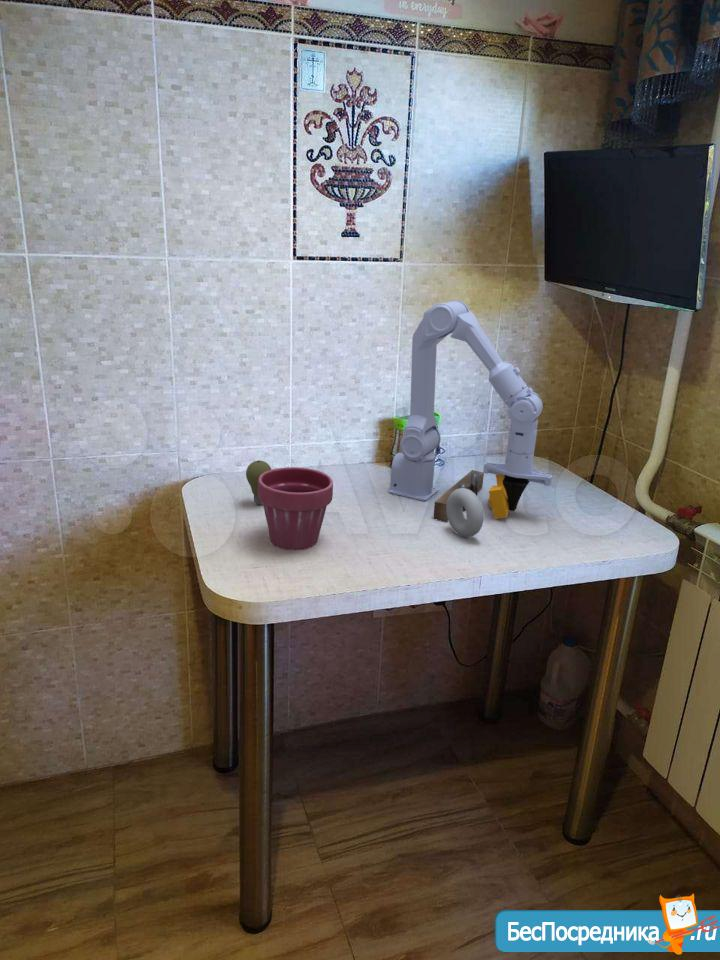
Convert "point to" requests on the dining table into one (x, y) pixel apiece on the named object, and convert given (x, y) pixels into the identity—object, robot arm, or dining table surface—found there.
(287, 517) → the plant pot
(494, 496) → the pipe clamp
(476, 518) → the donut
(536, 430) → the robot arm
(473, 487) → the bench fence
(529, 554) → the dining table surface
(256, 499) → the light bulb
